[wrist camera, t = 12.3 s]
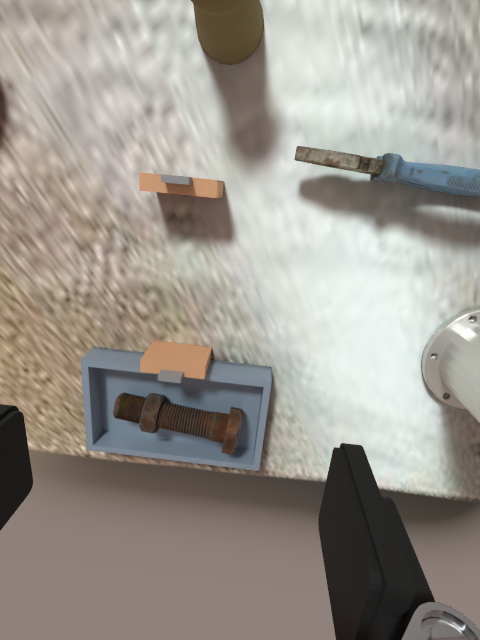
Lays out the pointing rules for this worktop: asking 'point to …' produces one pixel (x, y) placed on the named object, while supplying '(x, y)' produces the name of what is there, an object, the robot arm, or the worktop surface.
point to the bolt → (180, 418)
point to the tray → (208, 394)
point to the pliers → (399, 170)
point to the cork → (229, 28)
